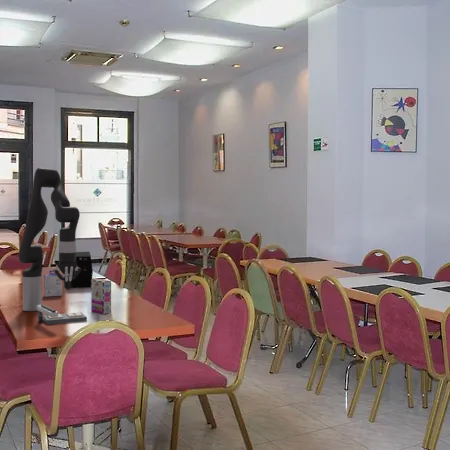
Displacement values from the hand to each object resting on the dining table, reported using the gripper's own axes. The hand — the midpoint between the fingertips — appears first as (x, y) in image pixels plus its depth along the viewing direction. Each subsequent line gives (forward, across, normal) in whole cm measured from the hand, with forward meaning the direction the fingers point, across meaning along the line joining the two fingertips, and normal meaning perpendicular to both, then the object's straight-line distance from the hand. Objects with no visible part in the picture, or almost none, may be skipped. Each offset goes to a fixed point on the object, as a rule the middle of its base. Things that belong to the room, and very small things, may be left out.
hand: (67, 289), depth 269 cm
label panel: (+16, -2, -9) cm, 19 cm away
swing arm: (+10, +9, -2) cm, 14 cm away
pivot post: (+16, +9, -11) cm, 21 cm away
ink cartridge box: (+18, -21, -79) cm, 83 cm away
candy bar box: (+16, -24, -16) cm, 33 cm away
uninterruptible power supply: (+18, -50, -111) cm, 123 cm away
